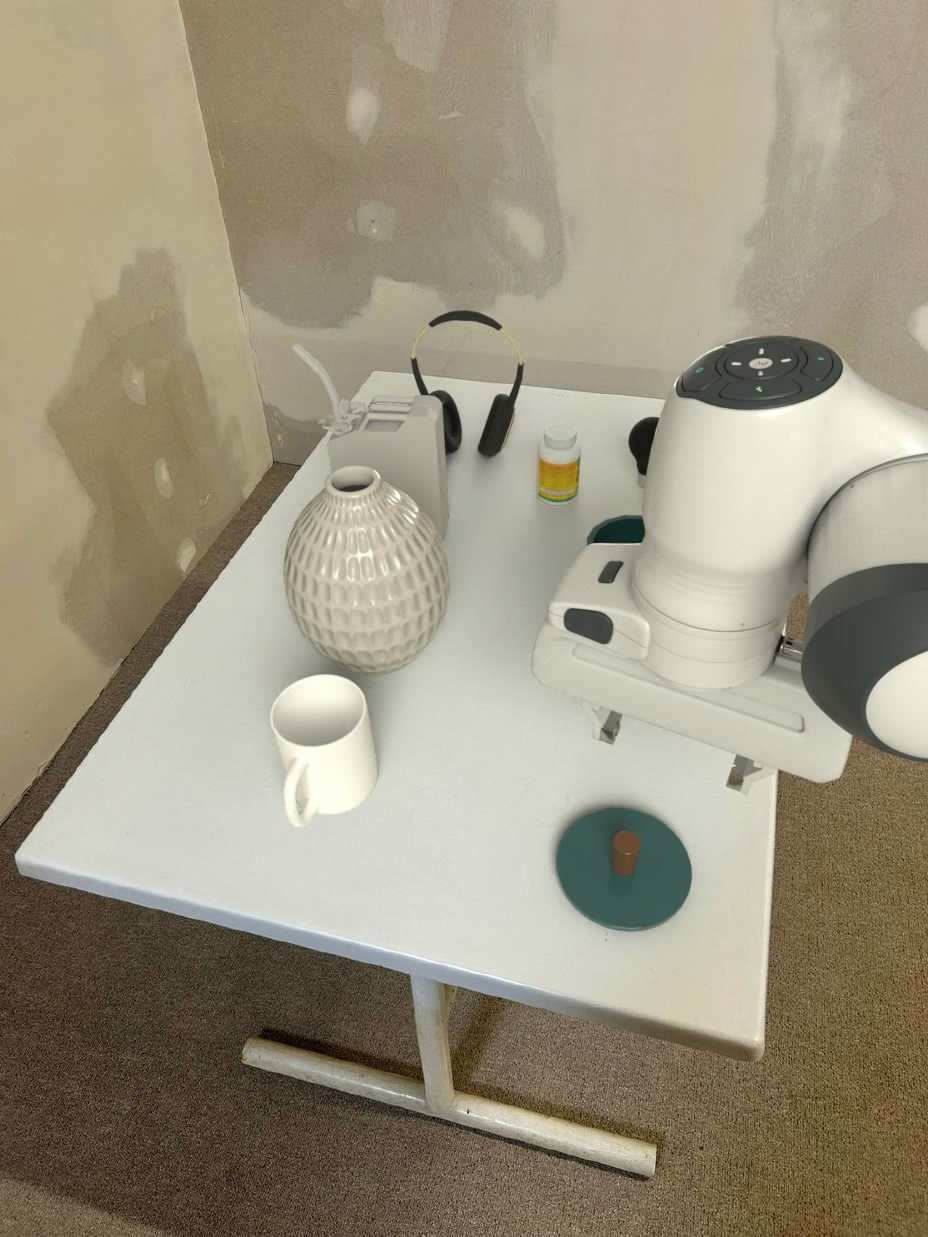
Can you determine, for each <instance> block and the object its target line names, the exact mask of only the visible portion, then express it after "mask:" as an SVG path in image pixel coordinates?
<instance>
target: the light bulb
mask: <svg viewBox="0 0 928 1237" xmlns="http://www.w3.org/2000/svg"><path fill="white" fill-rule="evenodd" d="M659 418H660V416H648V417H647V416H646V417H644V418H642V419H640V420H639V421H637V422H636V423H635V424H634V425H633V427H632V428H631V430H630V432H629V434H628V442H627V443H628V448H629V452H630V453H631V455H632V456H633V458H634V459H635V462H636V470H637V481H636V482H637V485H639V486H640V487H641V488H643V489H644V486H645V480H646V474H647V468H648V463H649V458H650V453H651V448H652V444H653V440H654V436H655V432H656V428H657V425H658V421H659Z"/></svg>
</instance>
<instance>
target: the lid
mask: <svg viewBox="0 0 928 1237" xmlns="http://www.w3.org/2000/svg"><path fill="white" fill-rule="evenodd" d="M555 859H556V860H555V872H556V877H557V882H558V884H559V886H560V889H561V891H562V893H563V895H564V896H565V898H566V899H567V901H568V902H569V904H570V905H572V907H573V908H574V909H575V910H576V911H577V912H578V913H579V914H581V915H582V916H583V917H585V918H586V919H588V920H589V921H591V922H593V923H595V924H597V925H599V926H601V927H604V928H606V929H610V930H614V931H619V932H630V933H631V932H642V931H648V930H651V929H654V928H657V927H660V926H662V925H663V924H665V923H667V922H669V921H670V920H671V919H673V917H675V916H677V914H678V913H679V911H681V909H682V908H683V907H684V905H685V903H686V902H687V899H688V897H689V894H690V891H691V888H692V881H693V870H692V868H693V867H692V864H691V859H690V856H689V854H688V851H687V849H686V847H685V845H684V844H683V842H682V840H680V838H679V836H678V835H677V834H676V833H675V832H674V831H673V830H672V829H671V828H670V827H669V826H668V825H666V824H665V823H664V822H662V820H659V819H658V818H656V817H654V816H653V815H651V814H648V813H646V812H644V811H643V812H642V811H639V810H636V809H631V808H623V807H610V808H602V809H598V810H595V811H592V812H590V813H587V814H585V815H583V816H581V817H580V818H579V819H577V820H575V821H574V822H573V823H572V824H571V825H570V826H569V827H568V828H567V830H566V831H565V832H564V834H563V836H562V837H561V839H560V840H559V844H558V847H557V850H556V858H555Z"/></svg>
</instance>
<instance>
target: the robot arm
mask: <svg viewBox="0 0 928 1237" xmlns="http://www.w3.org/2000/svg"><path fill="white" fill-rule="evenodd" d="M659 417H660V418H659V421H658V425H657V428H656V432H655V436H654V440H653V444H652V448H651V453H650V458H649V463H648V468H647V474H646V480H645V486H644V488H643V492H642V493H643V494H642V500H641V515H642V517H643V522H644V526H645V536H644V539H643V541H642V543H641V544H604V543H598V544H590V545H588V546H586V545H585V547H584V548H583V549H582V550H581V551H580V552H579V553H578V554H577V556H575V558H574V560H573V561H572V562H571V563H570V565H569V566H568V567H567V569H566V570H565V572H564V574H563V575H562V577H561V579H559V582H558V584H557V585H556V588H555V589H554V591H553V594H552V596H551V598H550V601H549V603H548V607H547V615H546V616H545V618H544V620H543V621H542V623H541V625H540V627H539V628H538V630H537V632H536V635H535V638H534V644H533V647H532V654H531V662H530V663H531V664H530V670H531V674H532V676H533V677H534V678H535V680H537V682H538V683H539V684H540V686H542V687H544V688H546V689H550V690H553V691H555V692H558V693H561V694H564V695H566V696H570V697H572V698H576V699H578V700H580V707H581V708H582V710H583V711H584V714H585V715H586V716H587V718H588V720H589V721H590V722H591V724H592V725H593V732H592V739H594V740H597V741H600V742H603V743H606V744H608V745H612V746H613V745H614V744H615V742H616V737H618V735H619V733H620V730H621V727H622V723H621V722H622V721H623V720H622V719H623V716H626V717H629V718H632V719H635V720H637V721H641V722H643V723H646V724H649V725H652V726H654V727H658V728H660V729H663V730H666V731H669V732H671V733H675V734H677V735H681V736H683V737H686V738H689V739H692V740H694V741H697V742H701V743H703V744H706V745H708V746H711V747H713V748H716V749H717V748H718V749H720V750H722V751H726V752H729V753H730V754H734V755H735V757H734V761H733V763H732V766H731V767H730V768H731V769H730V771H729V774H728V778H727V781H726V784H725V787H726V788H728V789H731V790H733V791H736V792H740V793H742V794H745V795H748V794H749V791H750V788H751V785H752V783H755V782H758V781H759V780H762V779H765V778H767V777H769V776H772V775H774V774H775V771H776V769H777V770H780V771H783V772H785V773H789V774H791V775H794V776H797V777H800V778H803V779H805V780H808V781H811V782H814V783H817V784H826V783H829V782H832V781H836V780H838V779H839V778H841V776H842V774H843V772H844V768H845V767H846V764H847V760H848V757H849V755H850V754H849V753H850V749H851V746H852V742H853V738H856V739H857V740H858V741H860V742H863V743H864V744H866V745H868V746H870V747H872V748H874V749H876V750H879V751H881V752H884V753H886V754H889V755H892V756H895V757H898V758H901V759H904V760H909V761H913V762H919V763H926V764H928V408H923V407H920V406H917V405H914V404H912V403H910V402H906V401H905V400H901V399H900V398H897V397H895V396H893V395H891V394H889V393H887V392H885V391H883V390H881V389H880V388H878V387H876V386H875V385H873V384H871V383H870V382H868V381H867V380H866V379H864V378H863V377H861V376H860V375H859V374H858V373H857V372H855V371H854V369H852V367H851V366H849V364H848V362H846V360H845V359H844V358H843V356H841V355H840V353H838V352H837V351H836V350H834V349H833V348H831V347H829V346H828V345H826V344H823V343H821V342H818V341H815V340H812V339H808V338H804V337H803V338H802V337H797V336H791V335H780V334H779V335H778V334H777V335H776V334H775V335H774V334H773V335H771V334H770V335H769V334H768V335H757V336H756V335H755V336H749V337H743V338H740V339H736V340H732V341H729V342H727V343H725V344H723V345H720V346H717V347H715V348H712V349H710V350H708V351H706V352H705V353H702V355H700V356H698V357H697V358H696V359H694V360H693V361H691V363H689V364H688V366H686V367H685V368H684V369H683V370H682V372H681V373H680V374H679V375H678V377H677V378H676V380H675V382H674V383H673V384H672V387H671V388H670V390H669V392H668V393H667V396H666V399H665V401H664V403H663V406H662V409H661V412H660V415H659ZM802 594H803V595H804V594H808V608H807V612H806V617H805V625H804V633H803V634H804V635H803V640H799V639H796V638H793V637H789V636H786V635H784V634H783V631H784V629H785V625H786V623H787V620H788V616H789V613H790V610H791V607H792V604H793V601H794V598H795V597H797V596H799V595H802Z"/></svg>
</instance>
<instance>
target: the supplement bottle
mask: <svg viewBox="0 0 928 1237" xmlns="http://www.w3.org/2000/svg"><path fill="white" fill-rule="evenodd" d="M577 440H578V431H577V428H576V427H575V426H574V425H573V424H571V423H568V422H560V421H559V422H552V423H550V424H548V425H547V426H545V428H544V430H543V440H542V441H541V443H540V444H539V446H538V448H537V465H536V466H537V469H536V494H537V495H536V496H537V498H538V499H539V500H540V501H542V502H543V503H545V504H546V505H550V506H553V507H554V506H556V507H559V506H560V507H561V506H565V505H569V504H571V503H573V502H574V501H575V500H576V499H577V497H578V495H579V486H580V485H579V484H580V472H581V471H580V469H581V456H582V455H581V454H582V449H581V446H580V444H579V442H578V441H577Z"/></svg>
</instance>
